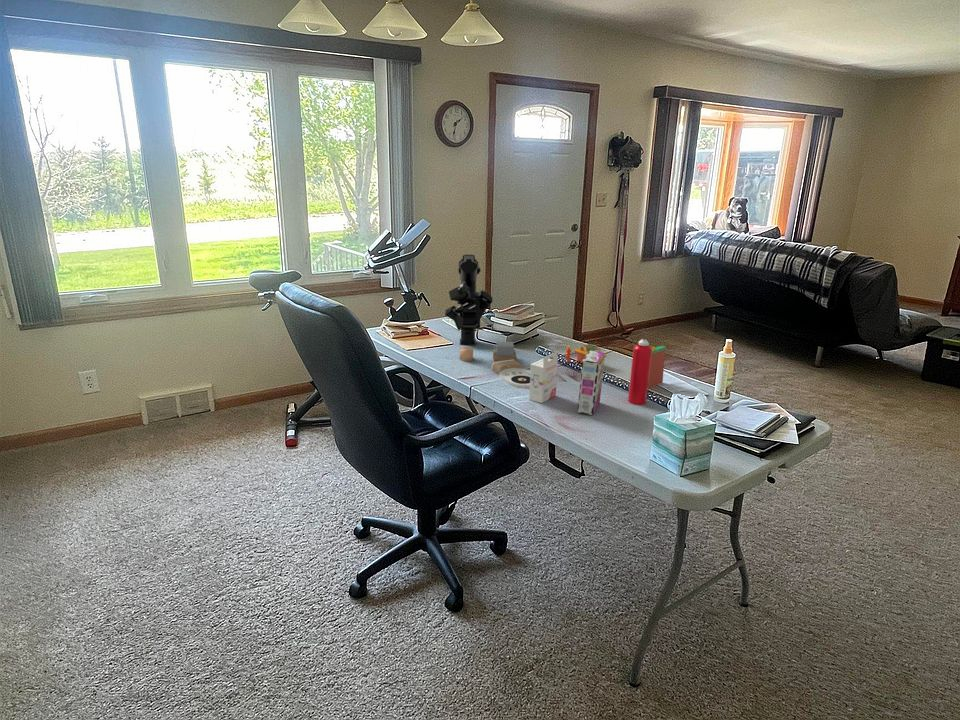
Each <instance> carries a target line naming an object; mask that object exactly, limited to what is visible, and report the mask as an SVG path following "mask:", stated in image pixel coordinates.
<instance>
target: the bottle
mask: <svg viewBox="0 0 960 720" xmlns="http://www.w3.org/2000/svg"><path fill="white" fill-rule="evenodd" d="M649 343H650V342H649V341H648V340H647V339H646V338H641V339H640V340H639V341H638V344H636V345H635V346H634V347H633V350H632V360H631V368H630V369H631V370H630V379H629V387H628V395H627V402H628V403H630V404H632V405H637V406H639V405H640V406H643V405H646V403H647V398H648V389H649V388H648V382H649V374H650V365H651V357H652V346H651V345H650V344H649Z"/></svg>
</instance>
